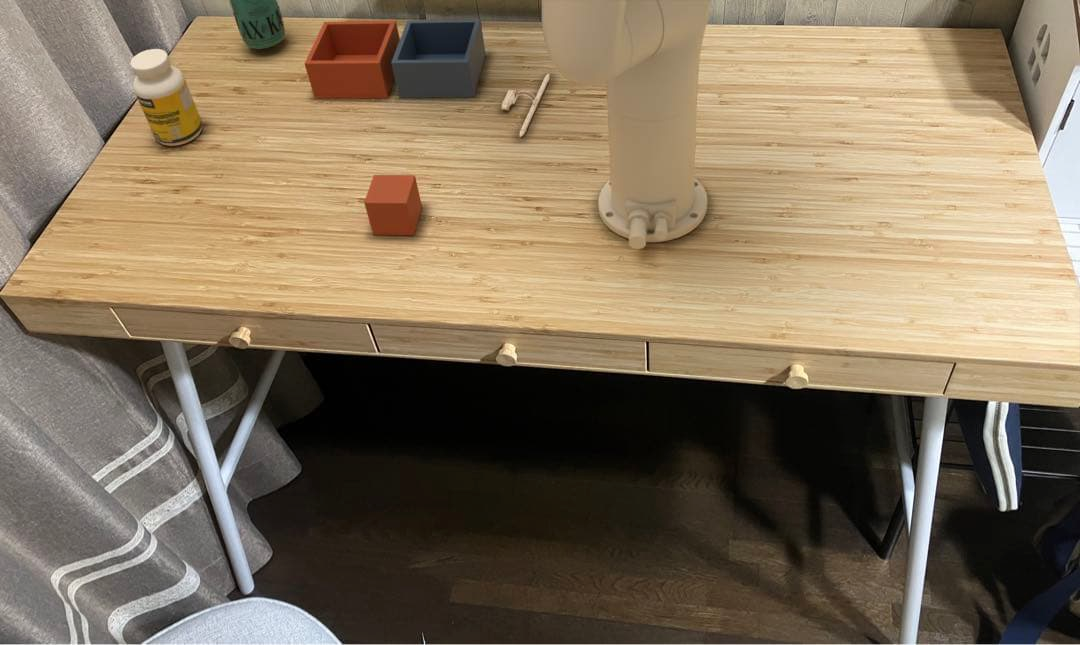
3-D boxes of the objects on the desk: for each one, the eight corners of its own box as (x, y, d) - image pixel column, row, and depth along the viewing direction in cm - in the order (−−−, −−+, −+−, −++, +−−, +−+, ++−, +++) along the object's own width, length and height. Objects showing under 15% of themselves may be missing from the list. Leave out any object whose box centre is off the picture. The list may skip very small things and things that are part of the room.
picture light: (523, 139, 129) (521, 125, 127) (490, 136, 130) (488, 122, 128) (551, 76, 138) (550, 63, 136) (521, 74, 139) (519, 60, 137)
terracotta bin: (387, 98, 137) (379, 62, 133) (314, 98, 139) (304, 63, 135) (403, 55, 144) (395, 20, 140) (333, 56, 146) (324, 21, 142)
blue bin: (474, 97, 136) (468, 61, 132) (399, 98, 137) (391, 62, 133) (485, 54, 143) (480, 19, 139) (414, 55, 144) (407, 20, 140)
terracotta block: (414, 235, 118) (406, 203, 114) (372, 235, 119) (363, 202, 115) (422, 207, 121) (415, 174, 118) (382, 206, 122) (373, 174, 118)
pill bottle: (146, 142, 135) (111, 68, 127) (176, 115, 139) (145, 41, 131) (183, 152, 133) (151, 77, 125) (213, 124, 137) (184, 49, 128)
